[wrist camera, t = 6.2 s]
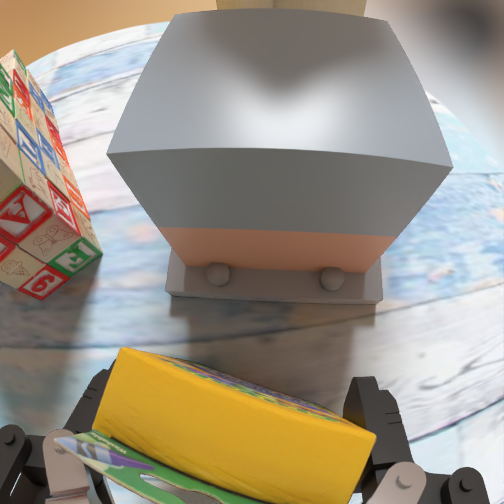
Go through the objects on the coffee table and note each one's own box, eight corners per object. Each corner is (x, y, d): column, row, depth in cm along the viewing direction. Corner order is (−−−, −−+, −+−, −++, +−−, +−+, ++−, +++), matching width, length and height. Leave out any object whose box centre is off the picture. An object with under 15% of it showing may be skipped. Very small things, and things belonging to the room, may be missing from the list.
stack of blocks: (10, 139, 25) (-46, 68, 14) (53, 105, 26) (3, 25, 15) (42, 303, 18) (-94, 234, 7) (107, 255, 19) (-17, 141, 8)
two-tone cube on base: (171, 295, 18) (63, 199, 8) (198, 136, 22) (163, 6, 12) (376, 304, 17) (491, 216, 7) (359, 142, 21) (397, 13, 11)
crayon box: (322, 401, 15) (415, 449, 5) (303, 449, 14) (356, 561, 4) (197, 358, 17) (83, 331, 6) (178, 405, 16) (47, 443, 5)
